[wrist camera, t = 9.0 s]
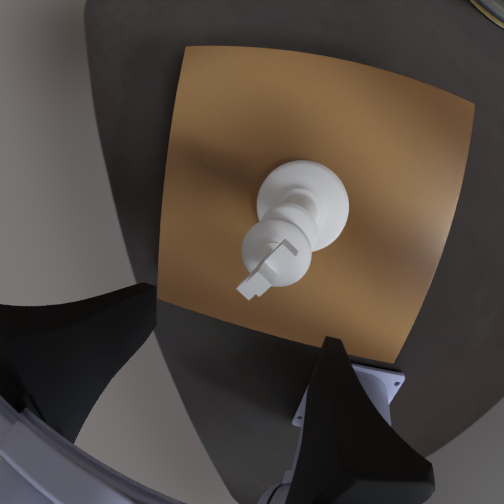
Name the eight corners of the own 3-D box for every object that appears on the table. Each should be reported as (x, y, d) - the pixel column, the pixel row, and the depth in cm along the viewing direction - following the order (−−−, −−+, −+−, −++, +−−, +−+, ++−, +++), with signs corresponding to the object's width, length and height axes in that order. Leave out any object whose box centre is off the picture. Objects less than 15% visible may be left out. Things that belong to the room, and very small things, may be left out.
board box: (386, 331, 21) (393, 364, 17) (181, 277, 24) (156, 298, 20) (450, 111, 15) (475, 103, 11) (210, 61, 18) (185, 45, 14)
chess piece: (240, 206, 17) (130, 275, 7) (300, 141, 15) (248, 119, 5) (303, 267, 17) (264, 396, 8) (367, 207, 15) (416, 289, 6)
